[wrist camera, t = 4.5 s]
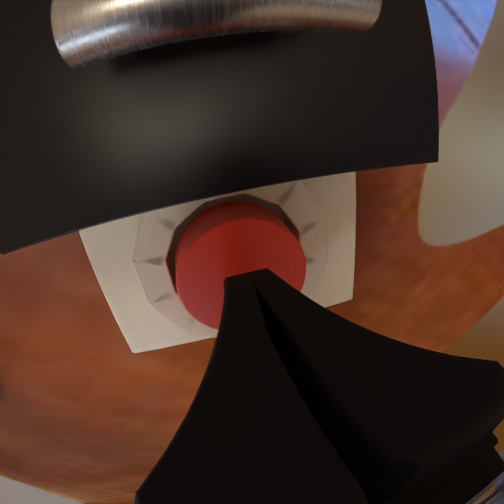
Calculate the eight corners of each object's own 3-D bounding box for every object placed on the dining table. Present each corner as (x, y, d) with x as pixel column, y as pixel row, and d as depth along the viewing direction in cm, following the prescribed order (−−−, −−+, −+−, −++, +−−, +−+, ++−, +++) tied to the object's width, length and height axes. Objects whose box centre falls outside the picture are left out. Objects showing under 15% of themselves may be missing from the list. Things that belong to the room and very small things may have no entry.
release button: (293, 289, 13) (309, 315, 11) (191, 315, 12) (194, 344, 11) (284, 189, 11) (303, 204, 9) (162, 215, 10) (159, 236, 9)
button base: (344, 289, 17) (368, 319, 14) (134, 340, 15) (131, 380, 13) (343, 132, 13) (378, 141, 10) (73, 186, 11) (49, 208, 9)
